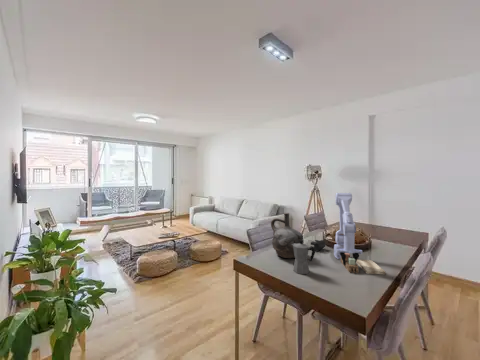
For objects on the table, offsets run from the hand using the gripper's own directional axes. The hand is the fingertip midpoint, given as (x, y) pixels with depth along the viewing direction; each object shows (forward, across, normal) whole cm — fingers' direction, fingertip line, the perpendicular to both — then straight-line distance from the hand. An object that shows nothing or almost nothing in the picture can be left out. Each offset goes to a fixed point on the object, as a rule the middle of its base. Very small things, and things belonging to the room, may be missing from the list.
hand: (349, 264), depth 139 cm
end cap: (+2, -12, +31) cm, 33 cm away
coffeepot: (+2, -29, -10) cm, 31 cm away
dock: (+1, +12, +1) cm, 12 cm away
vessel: (+2, -36, +16) cm, 39 cm away
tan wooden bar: (+2, 0, 0) cm, 2 cm away
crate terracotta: (-2, 0, +4) cm, 5 cm away
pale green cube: (-2, 0, -4) cm, 5 cm away
